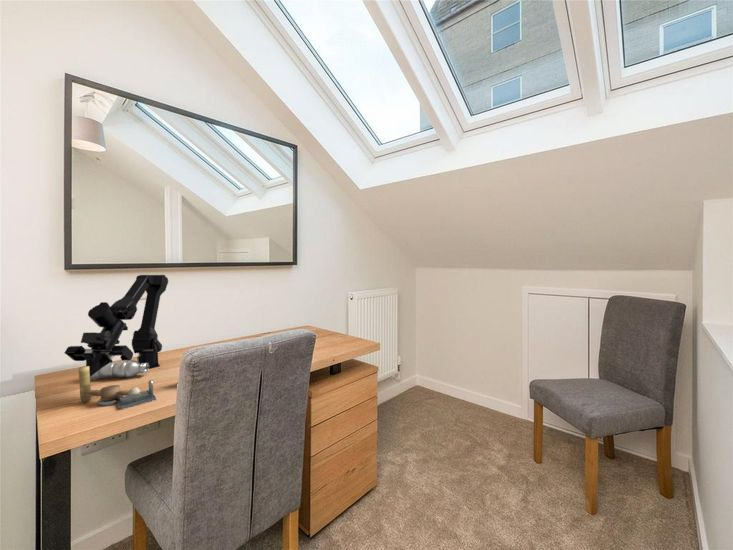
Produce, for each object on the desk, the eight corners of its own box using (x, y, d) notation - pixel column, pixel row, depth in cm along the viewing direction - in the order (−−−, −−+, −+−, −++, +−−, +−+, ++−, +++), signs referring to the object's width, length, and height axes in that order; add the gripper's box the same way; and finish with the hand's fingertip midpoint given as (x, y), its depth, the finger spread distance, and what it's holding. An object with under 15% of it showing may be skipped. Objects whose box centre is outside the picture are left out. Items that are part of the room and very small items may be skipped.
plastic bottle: (94, 373, 130) (151, 369, 134) (84, 384, 124) (144, 380, 128) (91, 358, 128) (149, 355, 132) (80, 369, 122) (141, 365, 126)
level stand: (146, 389, 116) (146, 375, 116) (157, 399, 108) (157, 384, 108) (96, 402, 106) (95, 386, 106) (103, 414, 98) (103, 397, 98)
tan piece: (144, 397, 109) (143, 364, 108) (133, 403, 104) (132, 369, 103) (88, 397, 109) (86, 364, 109) (74, 404, 104) (72, 370, 104)
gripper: (67, 322, 112) (38, 365, 101) (126, 321, 113) (103, 365, 102) (87, 339, 120) (62, 381, 110) (141, 339, 121) (122, 381, 111)
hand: (87, 377), depth 108 cm, fingers closed, pressing on tan piece
